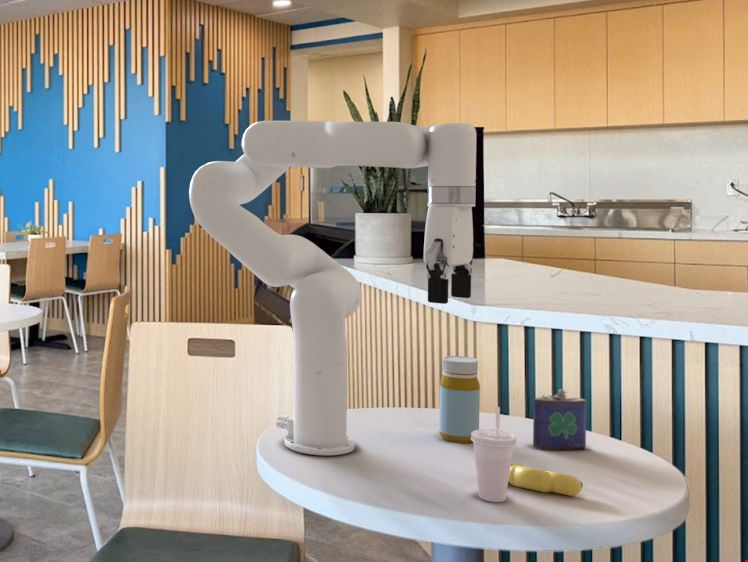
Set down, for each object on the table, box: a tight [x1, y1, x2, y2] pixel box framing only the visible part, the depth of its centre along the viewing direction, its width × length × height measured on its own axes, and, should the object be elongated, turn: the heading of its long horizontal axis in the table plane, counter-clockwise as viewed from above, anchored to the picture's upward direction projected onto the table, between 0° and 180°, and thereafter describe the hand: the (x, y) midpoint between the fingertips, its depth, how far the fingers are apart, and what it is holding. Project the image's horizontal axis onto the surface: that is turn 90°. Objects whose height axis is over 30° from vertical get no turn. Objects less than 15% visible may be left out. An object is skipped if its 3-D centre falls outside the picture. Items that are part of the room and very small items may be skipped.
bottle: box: [438, 355, 481, 444], centre depth 163 cm, size 7×7×15 cm
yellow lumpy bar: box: [508, 462, 584, 497], centre depth 136 cm, size 14×4×3 cm, turn 48°
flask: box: [532, 388, 587, 451], centre depth 157 cm, size 9×3×11 cm, turn 88°
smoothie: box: [471, 406, 517, 503], centre depth 131 cm, size 6×6×14 cm
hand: (449, 300), depth 145 cm, fingers open, 9 cm apart
